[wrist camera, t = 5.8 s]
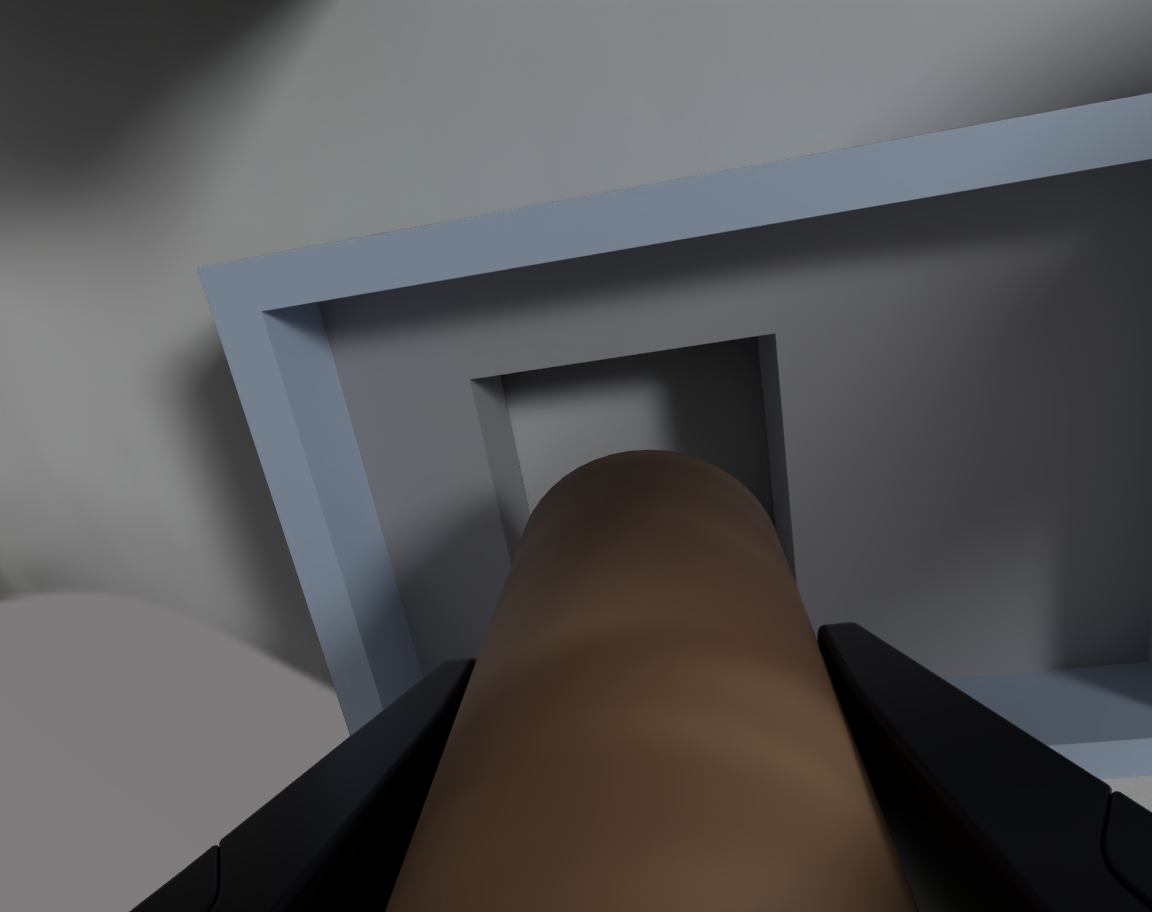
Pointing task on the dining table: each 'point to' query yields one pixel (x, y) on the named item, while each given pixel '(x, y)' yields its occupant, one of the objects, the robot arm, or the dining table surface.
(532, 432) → the dining table surface
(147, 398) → the dining table surface
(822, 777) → the peg
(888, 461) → the box
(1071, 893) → the robot arm
